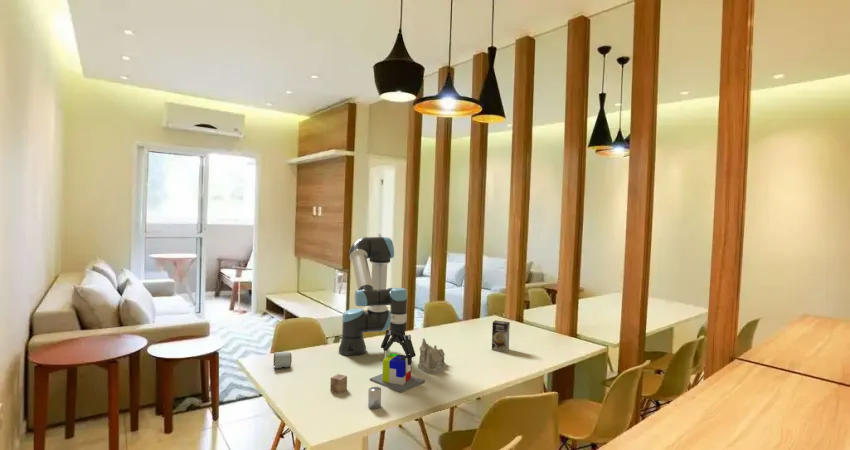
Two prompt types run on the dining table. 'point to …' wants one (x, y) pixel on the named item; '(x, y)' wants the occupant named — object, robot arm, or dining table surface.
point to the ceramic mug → (282, 359)
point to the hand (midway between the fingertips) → (397, 367)
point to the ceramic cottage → (431, 359)
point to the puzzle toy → (395, 369)
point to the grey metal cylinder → (374, 398)
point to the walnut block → (338, 383)
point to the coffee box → (500, 336)
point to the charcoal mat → (400, 388)
